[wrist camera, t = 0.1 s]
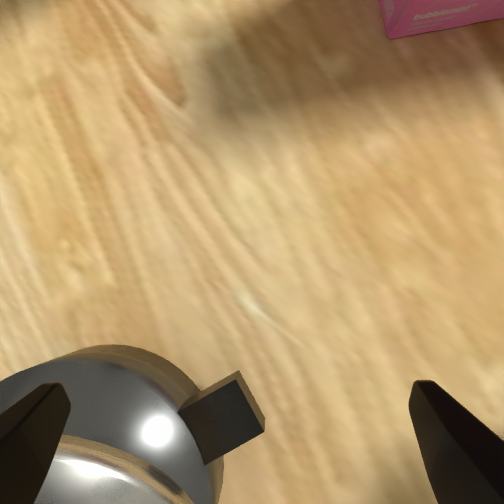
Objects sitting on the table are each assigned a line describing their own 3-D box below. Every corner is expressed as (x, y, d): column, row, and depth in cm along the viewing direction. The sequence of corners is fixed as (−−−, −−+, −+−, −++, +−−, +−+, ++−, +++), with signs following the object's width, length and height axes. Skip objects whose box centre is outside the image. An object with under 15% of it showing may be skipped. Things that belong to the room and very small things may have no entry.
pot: (329, 515, 22) (345, 584, 17) (27, 685, 22) (-44, 803, 17) (198, 278, 24) (179, 278, 19) (-80, 438, 24) (-172, 479, 19)
